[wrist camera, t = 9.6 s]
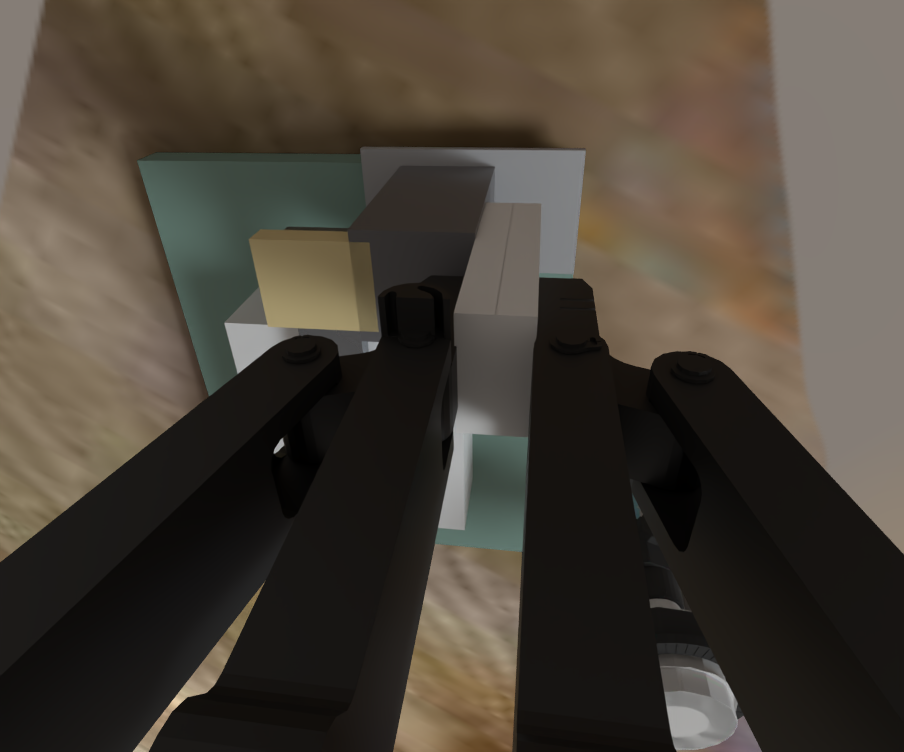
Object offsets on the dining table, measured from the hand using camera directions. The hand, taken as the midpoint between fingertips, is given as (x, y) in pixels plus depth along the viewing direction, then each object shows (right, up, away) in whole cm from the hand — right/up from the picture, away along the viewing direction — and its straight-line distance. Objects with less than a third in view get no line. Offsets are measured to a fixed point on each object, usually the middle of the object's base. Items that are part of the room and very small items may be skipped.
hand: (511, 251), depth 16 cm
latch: (-3, +2, +3) cm, 5 cm away
